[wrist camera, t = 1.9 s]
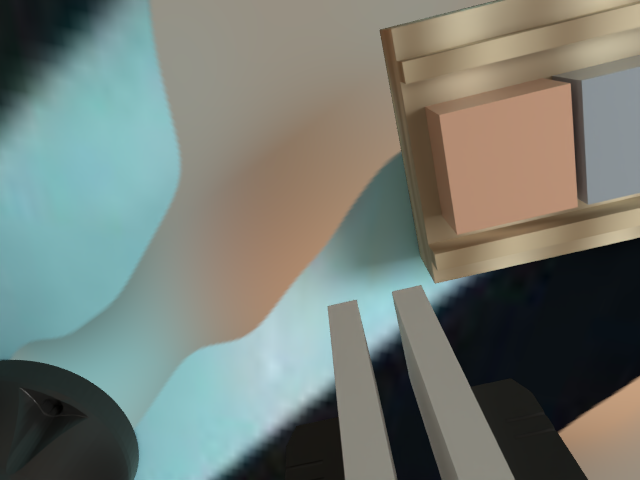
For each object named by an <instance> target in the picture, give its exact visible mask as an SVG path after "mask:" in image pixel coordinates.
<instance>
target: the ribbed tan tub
mask: <svg viewBox="0 0 640 480" xmlns="http://www.w3.org/2000/svg"><path fill="white" fill-rule="evenodd" d="M380 35H381V40H382V46H383V52H384V56H385V62H386V68H387V73H388V79H389V85H390V90H391V96H392V101H393V107H394V113H395V118H396V124H397V129H398V135H399V141H400V146H401V152H402V157H403V163H404V168H405V174H406V179H407V185H408V191H409V196H410V202H411V207H412V213H413V218H414V224H415V229H416V235H417V241H418V246H419V252H420V257H421V259H422V260H423V262H424V264H425V266H426V268H427V270H428V271H429V273H430V275H431V277H432V279H433V281H434V283H439V282H444V281H448V280H453V279H457V278H462V277H466V276H470V275H475V274H479V273H484V272H488V271H493V270H497V269H502V268H506V267H510V266H515V265H519V264H524V263H528V262H533V261H537V260H541V259H546V258H550V257H555V256H559V255H564V254H568V253H573V252H577V251H581V250H586V249H590V248H595V247H599V246H604V245H608V244H613V243H617V242H621V241H626V240H630V239H635V238H639V237H640V193H637V194H633V195H628V196H624V197H620V198H615V199H611V200H607V201H602V202H598V203H594V204H589V205H588V204H586V203H584V202H582V201H581V200H579V199H577V201H578V207H576V208H572V209H567V210H563V211H559V212H554V213H550V214H546V215H541V216H537V217H533V218H528V219H524V220H520V221H515V222H511V223H506V224H502V225H498V226H493V227H489V228H485V229H480V230H476V231H472V232H467V233H463V234H458V235H457V234H456V233H455V232H454V230H453V229H452V228H451V226H450V225H449V224H448V223H447V221H446V220H445V219H444V218H443V216H442V213H441V206H440V200H439V194H438V187H437V181H436V175H435V168H434V162H433V156H432V150H431V143H430V137H429V131H428V124H427V118H426V112H425V107H426V106H430V105H434V104H438V103H442V102H446V101H450V100H454V99H459V98H463V97H467V96H471V95H475V94H479V93H483V92H487V91H492V90H496V89H500V88H504V87H508V86H512V85H516V84H520V83H525V82H529V81H533V80H537V79H541V78H544V79H549V80H552V76H553V75H557V74H562V73H566V72H570V71H574V70H578V69H582V68H586V67H590V66H595V65H599V64H603V63H607V62H611V61H615V60H619V59H623V58H628V57H632V56H636V55H640V0H496V1H493V2H488V3H484V4H480V5H476V6H472V7H468V8H465V9H461V10H457V11H452V12H449V13H444V14H441V15H436V16H433V17H429V18H425V19H421V20H417V21H413V22H409V23H405V24H401V25H397V26H393V27H389V28H385V29H381V30H380Z"/></svg>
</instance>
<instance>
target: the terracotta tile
mask: <svg viewBox="0 0 640 480" xmlns="http://www.w3.org/2000/svg"><path fill="white" fill-rule="evenodd" d="M425 112H426V118H427V124H428V131H429V137H430V143H431V150H432V156H433V162H434V168H435V175H436V181H437V187H438V194H439V200H440V206H441V213H442V216H443V218H444V219H445V220H446V221H447V223H448V224H449V225H450V226H451V228H452V229H453V230H454V232H455V233H456V234H457V235H458V234H463V233H467V232H472V231H476V230H480V229H485V228H489V227H493V226H498V225H502V224H506V223H511V222H515V221H520V220H524V219H528V218H533V217H537V216H541V215H546V214H550V213H554V212H559V211H563V210H567V209H572V208H576V207H578V201H577V184H576V167H575V150H574V133H573V115H572V98H571V83H566V82H561V81H555V80H549V79H544V78H541V79H537V80H533V81H529V82H525V83H520V84H516V85H512V86H508V87H504V88H500V89H496V90H492V91H487V92H483V93H479V94H475V95H471V96H467V97H463V98H459V99H454V100H450V101H446V102H442V103H438V104H434V105H430V106H426V107H425Z"/></svg>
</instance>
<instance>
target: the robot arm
mask: <svg viewBox="0 0 640 480" xmlns="http://www.w3.org/2000/svg"><path fill="white" fill-rule="evenodd" d="M392 295H393V300H394V305H395V310H396V314H397V319H398V324H399V329H400V334H401V339H402V343H403V348H404V353H405V358H406V363H407V367H408V372H409V377H410V381H411V384H412V387H413V390H414V393H415V396H416V400H417V403H418V406H419V409H420V412H421V415H422V418H423V422H424V425H425V428H426V431H427V434H428V437H429V440H430V443H431V447H432V450H433V453H434V456H435V459H436V462H437V465H438V469H439V472H440V475H441V478H442V480H588V479H587V477H586V476H585V474H584V473H583V471H582V470H581V468H580V466H579V465H578V463H577V462H576V460H575V459H574V457H573V456H572V454H571V453H570V451H569V450H568V448H567V447H566V445H565V443H564V442H563V440H562V439H561V437H560V436H559V434H558V433H557V431H555V429H554V426H553V425H552V423H551V422H550V420H549V419H548V417H547V416H546V415H545V414H544V411H543V409H542V408H541V406H540V405H539V403H538V402H537V400H536V399H535V397H534V395H533V394H532V392H530V391H529V390H527V389H526V388H524V387H523V386H521V385H520V384H518V383H517V382H515V381H514V380H512V379H506V380H502V381H497V382H492V383H488V384H483V385H478V386H474V387H470V386H469V383H468V381H467V379H466V377H465V375H464V373H463V371H462V369H461V367H460V365H459V363H458V361H457V359H456V357H455V354H454V352H453V350H452V348H451V346H450V344H449V342H448V340H447V338H446V336H445V334H444V332H443V330H442V328H441V325H440V323H439V321H438V319H437V317H436V315H435V313H434V311H433V309H432V307H431V305H430V303H429V301H428V299H427V297H426V294H425V292H424V290H423V288H422V286H421V285H420V286H415V287H411V288H406V289H402V290H397V291H393V292H392ZM328 315H329V325H330V335H331V344H332V354H333V364H334V374H335V384H336V394H337V404H338V414H339V417H337V418H332V419H327V420H323V421H318V422H313V423H309V424H304V425H299V426H296V428H295V430H294V432H293V434H292V436H291V438H290V440H289V442H288V444H287V446H286V472H285V480H397V476H396V471H395V467H394V462H393V458H392V453H391V449H390V444H389V439H388V435H387V430H386V426H385V421H384V417H383V412H382V407H381V403H380V398H379V394H378V389H377V385H376V380H375V376H374V372H373V368H372V363H371V359H370V355H369V351H368V346H367V342H366V338H365V334H364V330H363V325H362V321H361V317H360V313H359V308H358V304H357V300H353V301H349V302H344V303H340V304H335V305H331V306H328ZM138 461H139V450H138V443H137V439H136V436H135V432H134V430H133V428H132V425H131V424H130V422H129V420H128V418H127V417H126V415H125V414H124V412H123V411H122V409H121V408H120V407H119V406H118V405H117V403H116V402H115V401H114V400H113V399H112V398H111V397H110V396H109V395H107V394H106V393H105V392H104V391H103V390H101V389H100V388H99V387H97V386H96V385H94V384H93V383H91V382H90V381H88V380H86V379H85V378H83V377H81V376H79V375H77V374H75V373H72V372H70V371H68V370H65V369H62V368H59V367H56V366H53V365H49V364H45V363H40V362H33V361H24V360H3V361H0V480H134V478H135V475H136V472H137V468H138Z"/></svg>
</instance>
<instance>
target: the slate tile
mask: <svg viewBox="0 0 640 480" xmlns="http://www.w3.org/2000/svg"><path fill="white" fill-rule="evenodd" d="M552 80H555V81H561V82H566V83H571V98H572V115H573V133H574V150H575V167H576V184H577V199H579V200H581V201H582V202H584V203H586V204H588V205H589V204H594V203H598V202H602V201H607V200H611V199H615V198H620V197H624V196H628V195H633V194H637V193H640V55H636V56H632V57H628V58H623V59H619V60H615V61H611V62H607V63H603V64H599V65H595V66H590V67H586V68H582V69H578V70H574V71H570V72H566V73H562V74H557V75H553V76H552Z"/></svg>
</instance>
